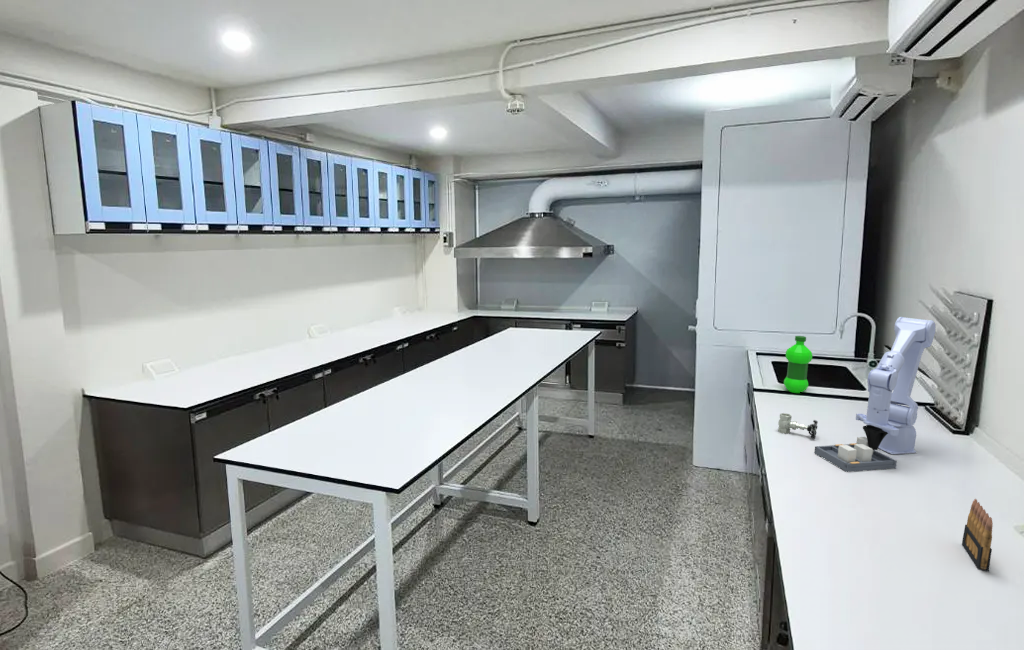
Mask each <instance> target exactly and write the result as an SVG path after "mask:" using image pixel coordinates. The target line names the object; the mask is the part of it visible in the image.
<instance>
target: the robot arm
mask: <svg viewBox="0 0 1024 650" xmlns="http://www.w3.org/2000/svg"><path fill="white" fill-rule="evenodd" d="M893 328H894V334H895V340H894V342H893V344H892V346H891V349H890V350H889V351H885V352H884V354H883V355H882V357H881V359H880V360H879V362H878V364H877V366H876V367H875V368H874V369H871V370H870V372H868V374H867V375H868V376H867V391H868V401H867V409H866V410H867V411H866V414H864V413H856V414H855V420H856V421H860V422H863V424H865V425H863V426H862V430H863V431H864V434H865V437H866V438H867V440H868V446H869V447H870V448H872V449H873V450H876V451H878V450H882V451H883V452H885V453H888V454H889V455H902V454H904V455H905V454H917V450H915V446H916V439H917V431H916V427H914V425H915V423H916V421H917V419H918V410H919V406H918V405H919V404H918V403H917V402H916V401H915V400H914V399H913V398H912V396H911V395H912V392H913V388H914V386H915V385H914V384H915V380H916V378H917V373H918V370H919V366H920V362H921V358H922V355H923V353H924V351H925V349H927V348H931V346H932V344H933V341H934V339H935V338H934V337H935V334H936V323H935V322H934V320H933V319H930V320H929V319H922V318H921V319H920V318H912V317H905V316H899V317H897V319H896V321H895V323H894V327H893Z"/></svg>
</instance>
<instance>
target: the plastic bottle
mask: <svg viewBox="0 0 1024 650" xmlns="http://www.w3.org/2000/svg"><path fill="white" fill-rule="evenodd" d="M794 341H795V344H793V345H791V346H790V347H788V348H787V350H786V351H785V358H786V360H787V368H786V369H787V370H786V371H787V372H786V376H785V378H784V379H783V384H784V387H785V388H786V389H787V391H788V392H790V393H792V394H793V393H794V394H801V393H800V392H802V393H803V392H804V391H806V390H807V389H808V388H809V381H808V379H807V377H808V371H809V369H808V368H809V363H810V362H812V360H813V353H812V351H811V350H810V349H809V348H808V347H807V346H806V345H805V342H806V341H807V337H806V336H804V335H795V336H794Z"/></svg>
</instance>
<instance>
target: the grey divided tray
mask: <svg viewBox="0 0 1024 650" xmlns="http://www.w3.org/2000/svg"><path fill="white" fill-rule="evenodd" d="M856 443H857V442H856ZM856 443H855V442H854V443H849V444H848V443H847V444H846V443H845V444H843V443H839V444H830V445H819V446H817V445H816V446H814V452H813V453H815V455H816V454H817V455H816V456H818V455H819V456H818V457H820V456H821V457H823V458H825V459H827V460H828V461H830V462H832V463H833V464H832V463H831V464H832V465H834V464H835V465H837V466H838V467H837V466H836V467H837V468H839V467H840V468H839V469H841V468H842V469H843V470H842V469H841V470H842V471H844V470H845V471H844V472H846V471H847V472H846V473H849V472H848V471H854V472H863V470H867V471H876V470H875V469H881V470H887V469H886V468H894V469H896V468H897V463H898V461H897V460H896V459H893V458H892V457H891V456H890V457H889V456H887V455H885V454H884V453H882V452H879V451H878V450H874V451H873V455H872V458H871V461H868V462H862V461H860V460H858V459H857V458H856V460H855V462H850V463H847V462H845V461H843V460H841V459H839V458H838V448H839V445H848V446H850V447H852V448H854V445H855V444H856ZM821 457H820V458H821ZM823 458H822V459H823ZM825 459H824V460H825ZM827 460H826V461H827ZM828 461H827V462H828ZM830 462H829V463H830ZM835 465H834V466H835Z"/></svg>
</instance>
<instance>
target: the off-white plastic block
mask: <svg viewBox="0 0 1024 650" xmlns="http://www.w3.org/2000/svg"><path fill="white" fill-rule="evenodd" d="M856 452H857V450H856V449H854V448H852V447H850V446H848V445H845V444H843V445H839V448H838V458H839V459H841V460H843V461H845V462H847V463H850V462H855V460H856Z"/></svg>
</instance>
